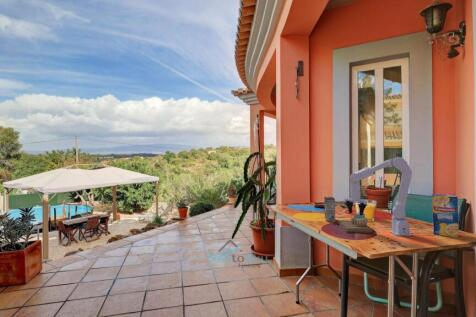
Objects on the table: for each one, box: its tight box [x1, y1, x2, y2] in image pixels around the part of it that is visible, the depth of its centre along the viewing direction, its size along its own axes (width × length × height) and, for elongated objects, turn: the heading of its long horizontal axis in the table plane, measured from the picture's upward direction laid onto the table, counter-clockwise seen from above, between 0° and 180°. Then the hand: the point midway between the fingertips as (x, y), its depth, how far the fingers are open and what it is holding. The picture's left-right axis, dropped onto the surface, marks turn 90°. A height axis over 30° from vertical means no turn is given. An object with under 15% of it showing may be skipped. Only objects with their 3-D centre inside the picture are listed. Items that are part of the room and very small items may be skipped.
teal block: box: [353, 212, 366, 219], centre depth 160 cm, size 4×5×2 cm
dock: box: [338, 219, 373, 234], centre depth 160 cm, size 20×14×2 cm
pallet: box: [350, 216, 368, 226], centre depth 160 cm, size 5×8×4 cm, turn 112°
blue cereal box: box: [431, 193, 460, 238], centre depth 143 cm, size 7×11×22 cm, turn 54°
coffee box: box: [323, 196, 336, 222], centre depth 183 cm, size 9×6×16 cm
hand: (355, 214), depth 159 cm, fingers open, 7 cm apart
